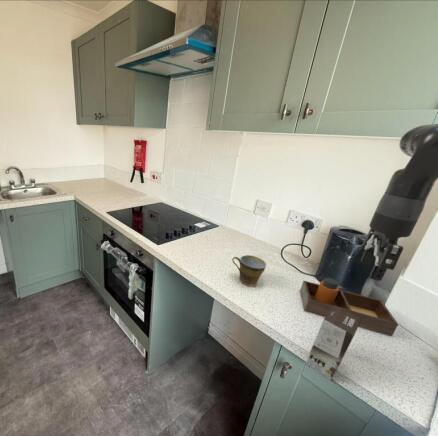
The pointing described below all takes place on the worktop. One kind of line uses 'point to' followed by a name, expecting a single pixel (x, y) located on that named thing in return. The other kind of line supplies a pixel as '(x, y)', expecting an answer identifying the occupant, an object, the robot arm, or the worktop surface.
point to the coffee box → (332, 341)
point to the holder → (351, 308)
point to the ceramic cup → (250, 269)
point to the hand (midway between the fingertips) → (369, 270)
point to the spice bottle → (327, 291)
